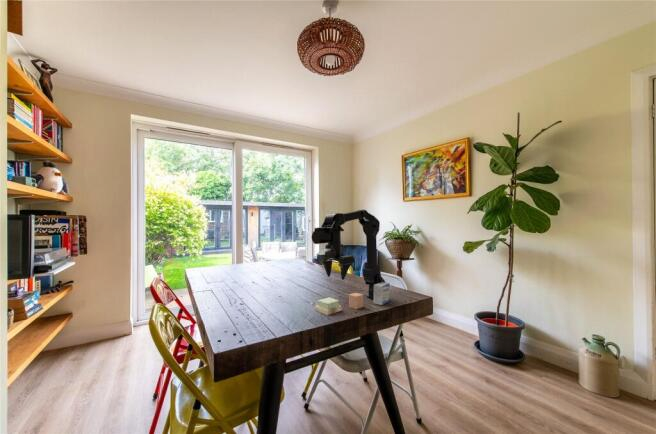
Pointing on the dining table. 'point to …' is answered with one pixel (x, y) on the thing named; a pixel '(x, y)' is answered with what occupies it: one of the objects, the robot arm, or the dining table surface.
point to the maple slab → (329, 310)
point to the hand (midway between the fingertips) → (335, 278)
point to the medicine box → (381, 293)
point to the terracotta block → (356, 300)
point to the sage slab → (328, 303)
